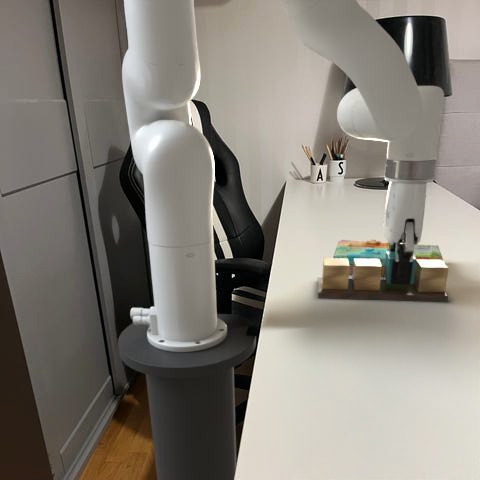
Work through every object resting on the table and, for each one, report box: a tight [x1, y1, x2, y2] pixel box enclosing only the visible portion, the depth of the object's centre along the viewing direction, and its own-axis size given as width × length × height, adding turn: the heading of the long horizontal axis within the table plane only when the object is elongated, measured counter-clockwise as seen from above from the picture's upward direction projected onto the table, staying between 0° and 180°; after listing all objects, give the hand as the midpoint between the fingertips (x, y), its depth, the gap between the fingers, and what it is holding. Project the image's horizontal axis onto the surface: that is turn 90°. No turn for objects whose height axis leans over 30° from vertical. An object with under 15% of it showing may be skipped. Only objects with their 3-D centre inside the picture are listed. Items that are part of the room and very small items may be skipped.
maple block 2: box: [351, 259, 382, 291], centre depth 88 cm, size 4×4×4 cm
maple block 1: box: [321, 257, 350, 290], centre depth 89 cm, size 4×4×4 cm
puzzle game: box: [332, 239, 445, 277], centre depth 99 cm, size 12×5×20 cm
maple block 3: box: [414, 259, 449, 292], centre depth 86 cm, size 4×4×4 cm
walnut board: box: [317, 277, 449, 303], centre depth 89 cm, size 22×8×1 cm, turn 82°
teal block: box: [383, 252, 416, 284], centre depth 87 cm, size 4×4×4 cm
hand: (398, 277), depth 87 cm, fingers closed on teal block, 4 cm apart
